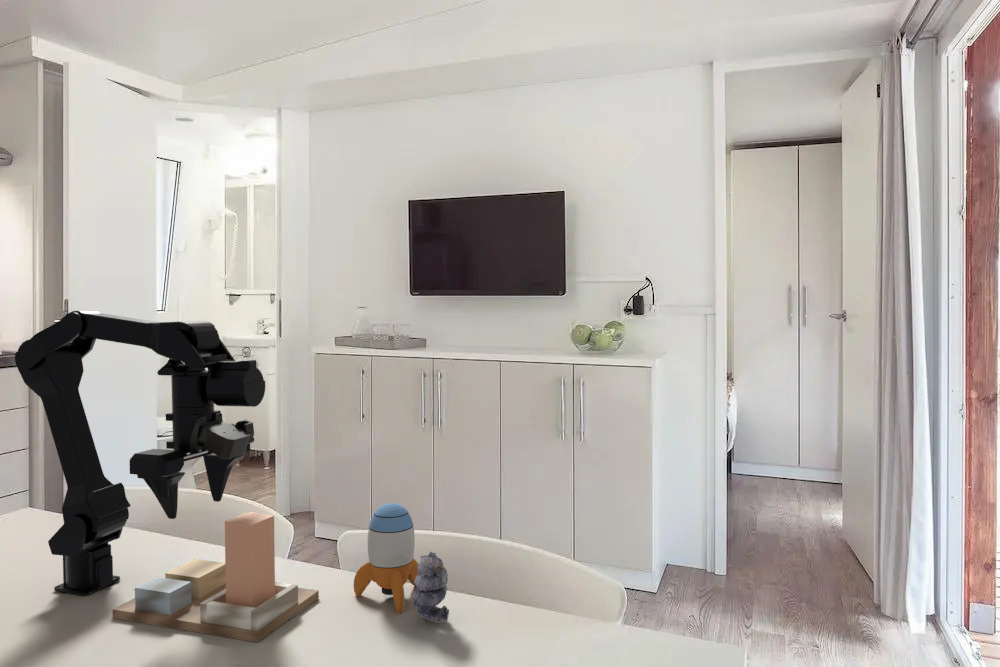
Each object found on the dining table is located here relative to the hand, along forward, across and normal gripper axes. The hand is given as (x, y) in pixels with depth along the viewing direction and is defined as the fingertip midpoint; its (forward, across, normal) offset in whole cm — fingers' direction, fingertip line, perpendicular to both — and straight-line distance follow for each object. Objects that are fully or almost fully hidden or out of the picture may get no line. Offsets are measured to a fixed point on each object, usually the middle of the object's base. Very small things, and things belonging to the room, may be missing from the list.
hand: (195, 509), depth 101 cm
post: (+12, -4, -13) cm, 18 cm away
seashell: (+14, +2, -37) cm, 39 cm away
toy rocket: (+14, +8, -27) cm, 31 cm away
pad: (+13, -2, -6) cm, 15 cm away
